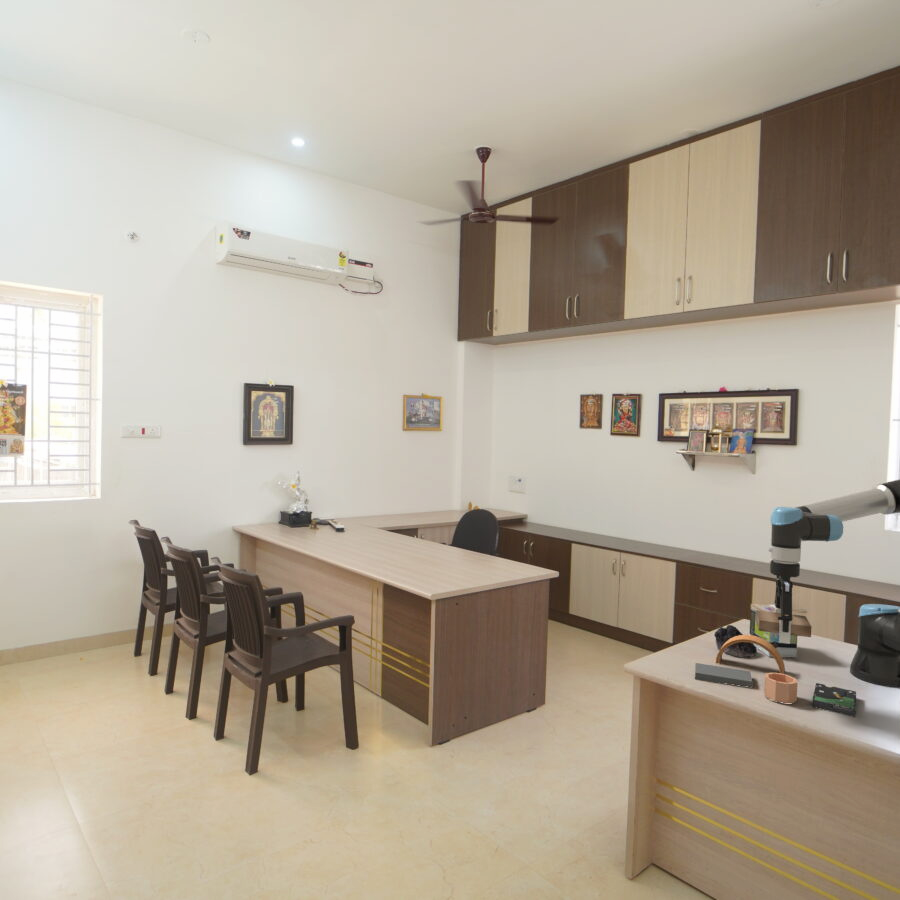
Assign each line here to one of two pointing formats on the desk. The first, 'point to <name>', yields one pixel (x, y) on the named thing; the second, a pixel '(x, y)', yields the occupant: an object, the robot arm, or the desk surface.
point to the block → (723, 675)
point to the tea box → (771, 634)
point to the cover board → (772, 624)
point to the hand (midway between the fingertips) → (781, 636)
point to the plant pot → (780, 687)
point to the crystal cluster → (738, 648)
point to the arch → (757, 641)
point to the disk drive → (834, 699)
